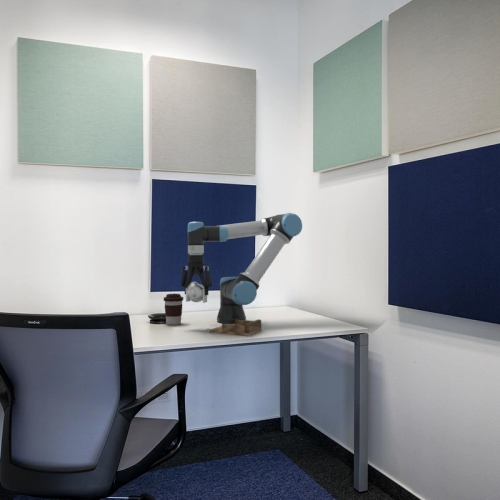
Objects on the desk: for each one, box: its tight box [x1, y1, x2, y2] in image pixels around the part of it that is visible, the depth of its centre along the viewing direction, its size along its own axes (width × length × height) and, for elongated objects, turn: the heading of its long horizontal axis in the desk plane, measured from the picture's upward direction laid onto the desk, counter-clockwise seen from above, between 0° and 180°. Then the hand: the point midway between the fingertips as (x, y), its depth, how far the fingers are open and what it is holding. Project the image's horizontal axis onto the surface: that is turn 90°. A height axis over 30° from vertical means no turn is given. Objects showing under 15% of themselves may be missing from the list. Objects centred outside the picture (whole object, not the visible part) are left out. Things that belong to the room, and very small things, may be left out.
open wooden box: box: [208, 319, 262, 337], centre depth 218 cm, size 20×14×5 cm
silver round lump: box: [185, 281, 204, 303], centre depth 225 cm, size 9×10×10 cm
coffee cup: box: [163, 293, 184, 326], centre depth 239 cm, size 10×10×15 cm
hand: (196, 301), depth 224 cm, fingers closed on silver round lump, 9 cm apart
